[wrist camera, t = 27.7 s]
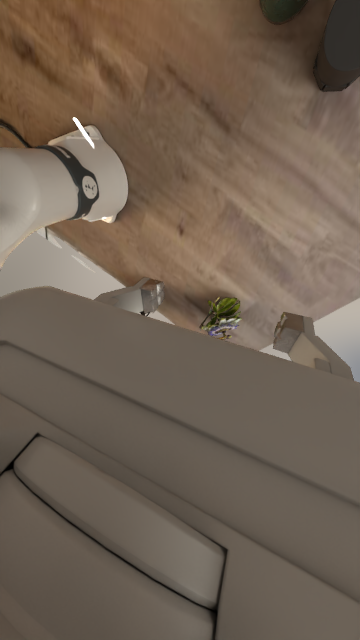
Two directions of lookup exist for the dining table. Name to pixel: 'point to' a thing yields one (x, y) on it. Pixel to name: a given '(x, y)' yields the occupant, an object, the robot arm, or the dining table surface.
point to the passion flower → (223, 323)
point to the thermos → (281, 9)
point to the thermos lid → (339, 48)
